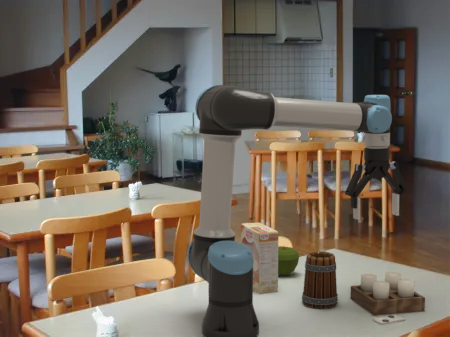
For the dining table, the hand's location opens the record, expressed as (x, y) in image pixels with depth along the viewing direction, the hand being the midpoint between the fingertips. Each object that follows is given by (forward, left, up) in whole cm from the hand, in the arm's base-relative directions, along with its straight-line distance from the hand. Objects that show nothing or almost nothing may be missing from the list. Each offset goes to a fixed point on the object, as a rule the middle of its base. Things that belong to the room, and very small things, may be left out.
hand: (376, 216), depth 223 cm
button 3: (+4, -5, -22) cm, 23 cm away
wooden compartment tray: (-1, -8, -25) cm, 26 cm away
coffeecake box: (-27, +24, -25) cm, 44 cm away
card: (-9, -19, -25) cm, 33 cm away
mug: (-17, +3, -25) cm, 31 cm away
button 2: (-6, -11, -22) cm, 25 cm away
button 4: (+2, -12, -22) cm, 25 cm away
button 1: (-4, -3, -22) cm, 23 cm away
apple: (-13, +33, -25) cm, 44 cm away
